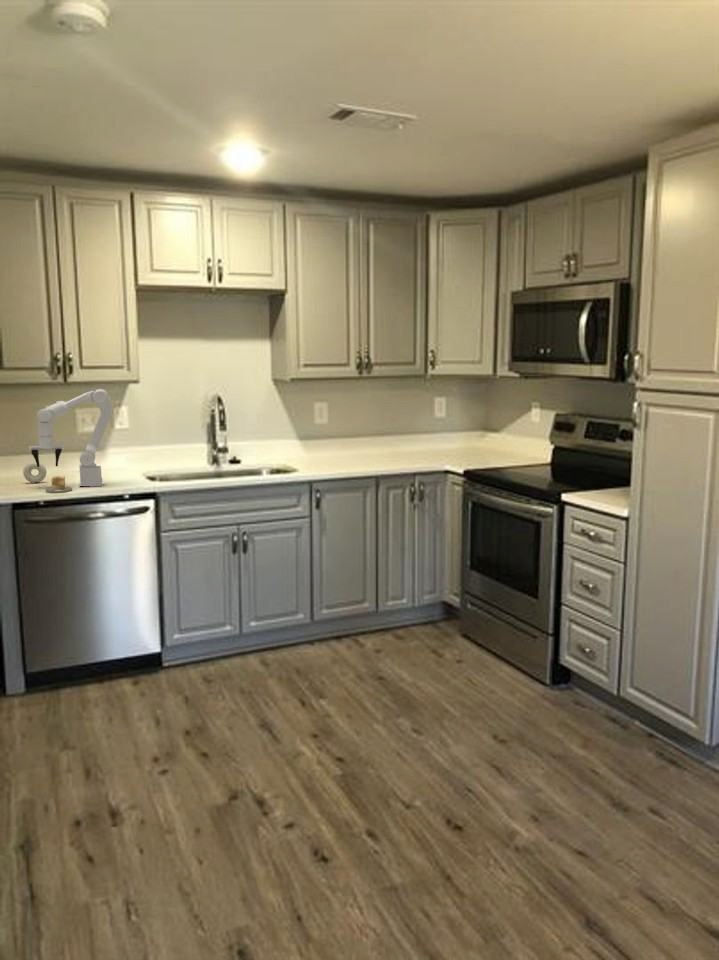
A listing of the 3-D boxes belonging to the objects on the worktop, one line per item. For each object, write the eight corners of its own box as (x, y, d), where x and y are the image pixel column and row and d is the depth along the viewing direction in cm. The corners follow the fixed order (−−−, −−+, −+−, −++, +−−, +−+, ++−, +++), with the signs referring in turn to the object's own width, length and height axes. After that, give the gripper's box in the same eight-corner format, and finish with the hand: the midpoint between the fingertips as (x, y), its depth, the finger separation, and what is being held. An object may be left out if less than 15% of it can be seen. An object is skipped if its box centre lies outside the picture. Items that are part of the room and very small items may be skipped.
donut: (47, 481, 369) (46, 460, 368) (46, 483, 366) (45, 461, 365) (24, 482, 366) (22, 461, 365) (23, 484, 363) (22, 462, 362)
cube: (65, 487, 349) (64, 476, 348) (64, 489, 344) (63, 477, 343) (53, 487, 347) (52, 476, 347) (52, 489, 343) (51, 478, 342)
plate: (73, 488, 353) (72, 486, 352) (71, 492, 342) (71, 490, 342) (46, 489, 350) (46, 487, 349) (44, 493, 339) (43, 491, 339)
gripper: (27, 437, 345) (29, 468, 348) (62, 436, 349) (64, 467, 352) (28, 435, 352) (30, 466, 354) (63, 434, 356) (65, 464, 358)
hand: (47, 466), depth 353 cm, fingers open, 7 cm apart
